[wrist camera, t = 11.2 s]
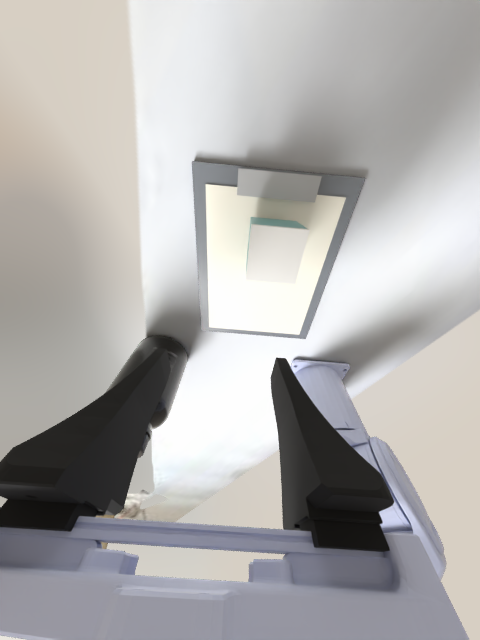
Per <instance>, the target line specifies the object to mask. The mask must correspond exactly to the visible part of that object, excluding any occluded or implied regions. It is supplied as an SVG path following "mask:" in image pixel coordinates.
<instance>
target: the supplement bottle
mask: <svg viewBox="0 0 480 640" xmlns="http://www.w3.org/2000/svg"><path fill="white" fill-rule="evenodd" d="M157 348H161V349H167V353H168V357H169V362H170V367H171V372H170V375H169V378H168V381H167V384H166V387H165V389H164V391H163V393H162V396H161V398H160V400H159V402H158V405H157V407H156V409H155V411H154V413H153V416H152V418H151V420H150V423H149V425H148V428H147V431H146V434H145V437H144V440H143V443H142V446H141V449H140V452H139V455H138V458H139V457H141V456H142V455H143V453H144V451H145V448H146V446H147V443H148V441H149V440H150V439H151V436H152V431H151V430H152V429H155V428H157V427H159V426H160V425H162V424H163V423H164V422H165V421H166V419H167V418H168V415H169V413H170V410H171V407H172V404H173V401H174V398H175V395H176V393H177V390H178V387H179V384H180V381H181V378H182V375H183V372H184V369H185V366H186V363H187V353H186V351H185V349H184V348H183V346H182V345H181V344H179V343H178V342H177V341H175V340H173V339H171V338H168V337H164V336H151V337H148V338H145V339H144V340H142V341H141V342H140V343H139V345H138V346H137V348H136V349H135V350H134V352H133V354H132V355H131V356H130V358H129V359H128V361H127V362H126V364H125V365H124V366H123V368H122V369H121V371H120V372H119V374H118V375H117V377H116V378H115V380H114V381H113V382H112V384H111V386H110V387H109V388H108V390H107V391H106V392H108V391H109V390H110V389H112V388H113V387H114V386H115V385H117V384H118V383H119V382H120V381H121V380H123V379H124V378H125V377H126V376H127V375H129V374H130V373H131V372H132V371H133V370H134V369H135V368H136V367H138V366H139V365H140V364H141V363H142V362H143V361H144V360H145V359H146V358H147V357H148V356H149V355H150V354H152V353H153V352H154V351H155V350H156V349H157Z"/></svg>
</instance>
